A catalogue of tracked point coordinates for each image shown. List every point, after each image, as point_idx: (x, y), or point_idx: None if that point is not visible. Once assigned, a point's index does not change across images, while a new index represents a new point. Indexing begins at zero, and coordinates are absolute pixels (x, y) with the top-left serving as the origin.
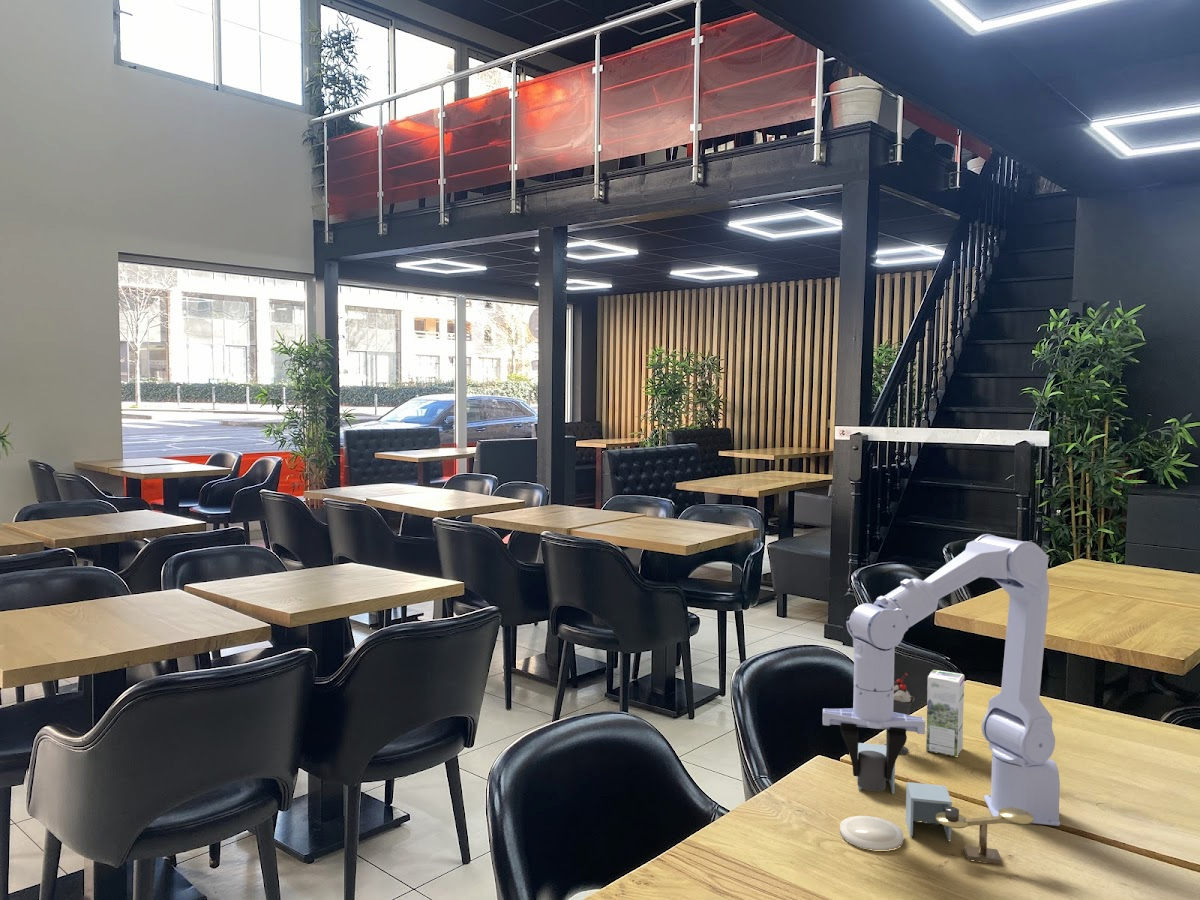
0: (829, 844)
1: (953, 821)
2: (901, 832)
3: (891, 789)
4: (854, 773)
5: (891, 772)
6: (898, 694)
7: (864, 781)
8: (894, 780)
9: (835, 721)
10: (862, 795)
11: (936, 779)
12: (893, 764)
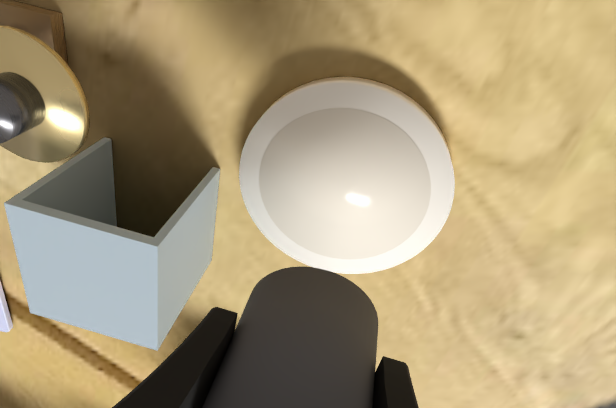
0: (525, 134)
1: (11, 73)
2: (243, 169)
3: None
4: (406, 374)
5: (193, 334)
6: None
7: (358, 320)
8: None
9: None
10: None
11: (109, 401)
12: (156, 373)
